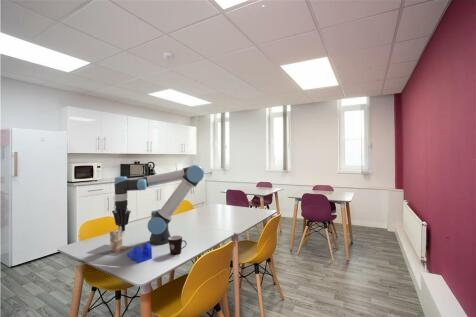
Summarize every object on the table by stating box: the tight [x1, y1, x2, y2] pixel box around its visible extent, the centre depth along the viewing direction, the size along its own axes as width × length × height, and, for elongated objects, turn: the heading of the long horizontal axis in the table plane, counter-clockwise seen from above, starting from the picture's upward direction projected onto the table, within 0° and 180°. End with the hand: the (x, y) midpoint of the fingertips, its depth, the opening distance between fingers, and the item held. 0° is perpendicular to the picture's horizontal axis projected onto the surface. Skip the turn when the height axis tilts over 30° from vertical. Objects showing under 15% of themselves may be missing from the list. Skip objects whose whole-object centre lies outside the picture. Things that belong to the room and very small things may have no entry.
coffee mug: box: [168, 235, 188, 256], centre depth 149 cm, size 12×9×10 cm
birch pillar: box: [109, 229, 123, 252], centre depth 157 cm, size 5×5×13 cm
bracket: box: [126, 242, 153, 264], centre depth 146 cm, size 18×8×9 cm, turn 50°
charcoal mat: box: [86, 244, 133, 257], centre depth 158 cm, size 24×16×1 cm, turn 76°
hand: (121, 235), depth 156 cm, fingers closed
